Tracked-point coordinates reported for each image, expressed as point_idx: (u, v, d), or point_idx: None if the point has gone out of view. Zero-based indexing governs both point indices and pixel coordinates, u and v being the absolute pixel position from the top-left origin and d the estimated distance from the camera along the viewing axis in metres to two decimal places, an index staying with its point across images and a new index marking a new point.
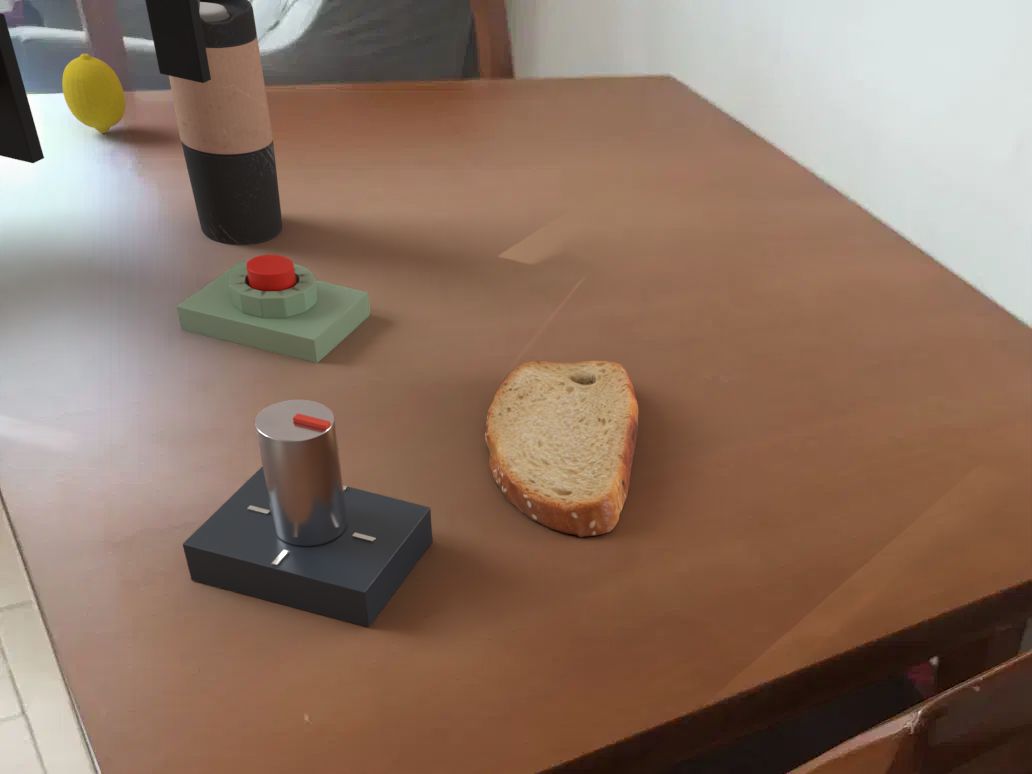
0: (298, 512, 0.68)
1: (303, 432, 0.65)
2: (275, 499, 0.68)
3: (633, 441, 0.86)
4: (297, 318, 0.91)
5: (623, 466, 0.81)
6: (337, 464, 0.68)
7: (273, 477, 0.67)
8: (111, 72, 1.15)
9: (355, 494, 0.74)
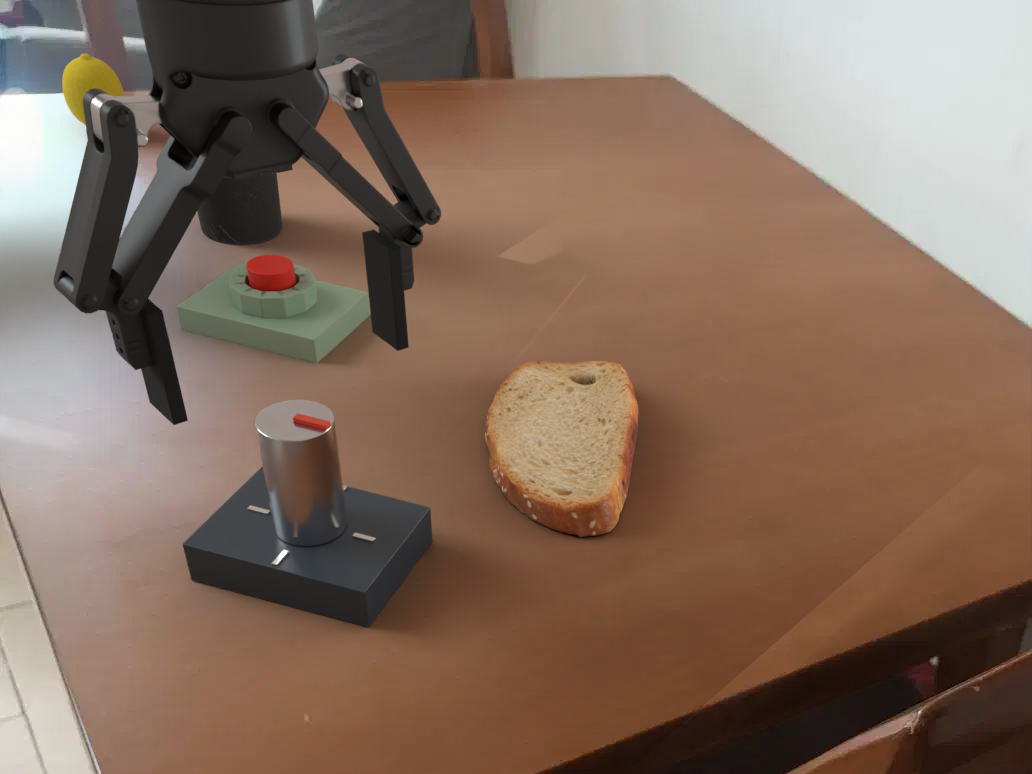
0: (298, 512, 0.68)
1: (303, 432, 0.65)
2: (275, 499, 0.68)
3: (633, 441, 0.86)
4: (297, 318, 0.91)
5: (623, 466, 0.81)
6: (337, 464, 0.68)
7: (273, 477, 0.67)
8: (111, 72, 1.15)
9: (355, 494, 0.74)
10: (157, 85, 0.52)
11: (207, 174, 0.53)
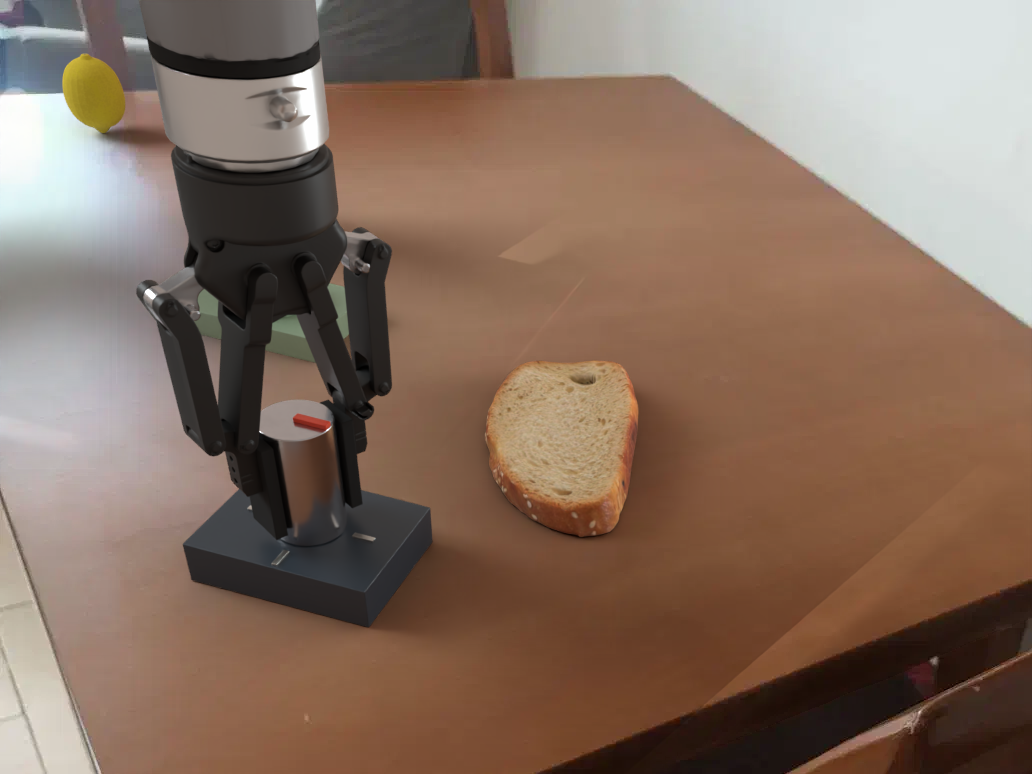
0: (298, 512, 0.68)
1: (303, 432, 0.65)
2: None
3: (633, 441, 0.86)
4: (297, 318, 0.91)
5: (623, 466, 0.81)
6: (337, 464, 0.68)
7: None
8: (111, 72, 1.15)
9: None
10: (193, 248, 0.57)
11: (258, 329, 0.59)
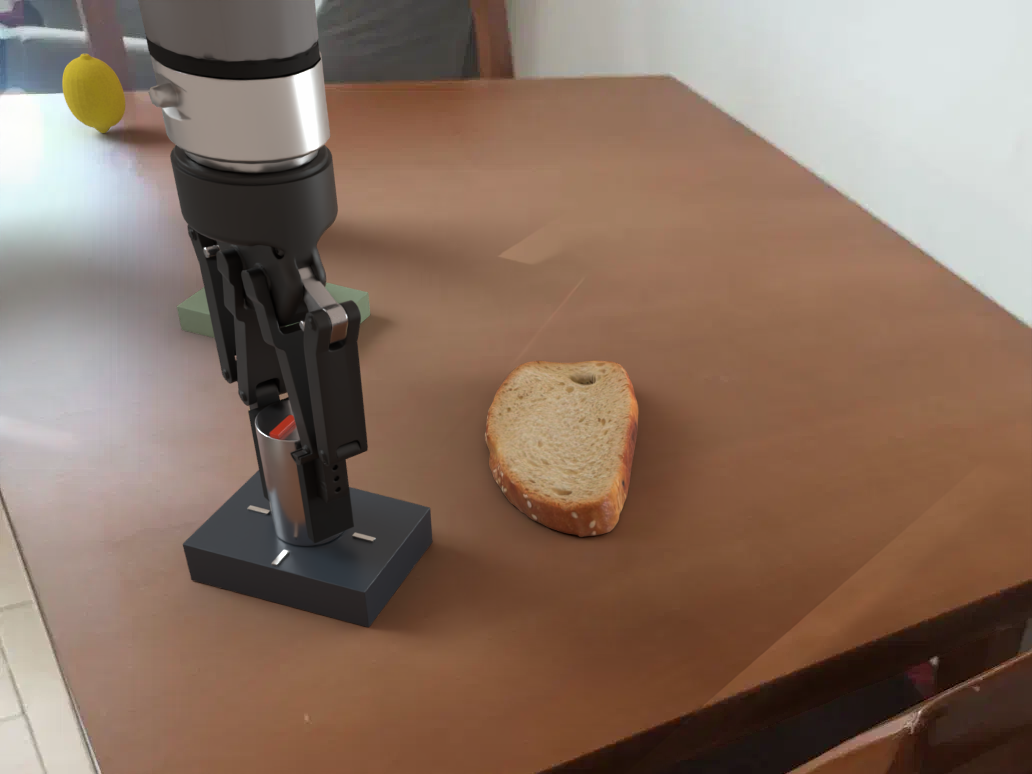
0: None
1: (269, 425, 0.66)
2: None
3: (633, 441, 0.86)
4: None
5: (623, 466, 0.81)
6: (287, 480, 0.66)
7: None
8: (111, 72, 1.15)
9: (355, 494, 0.74)
10: None
11: (228, 299, 0.61)
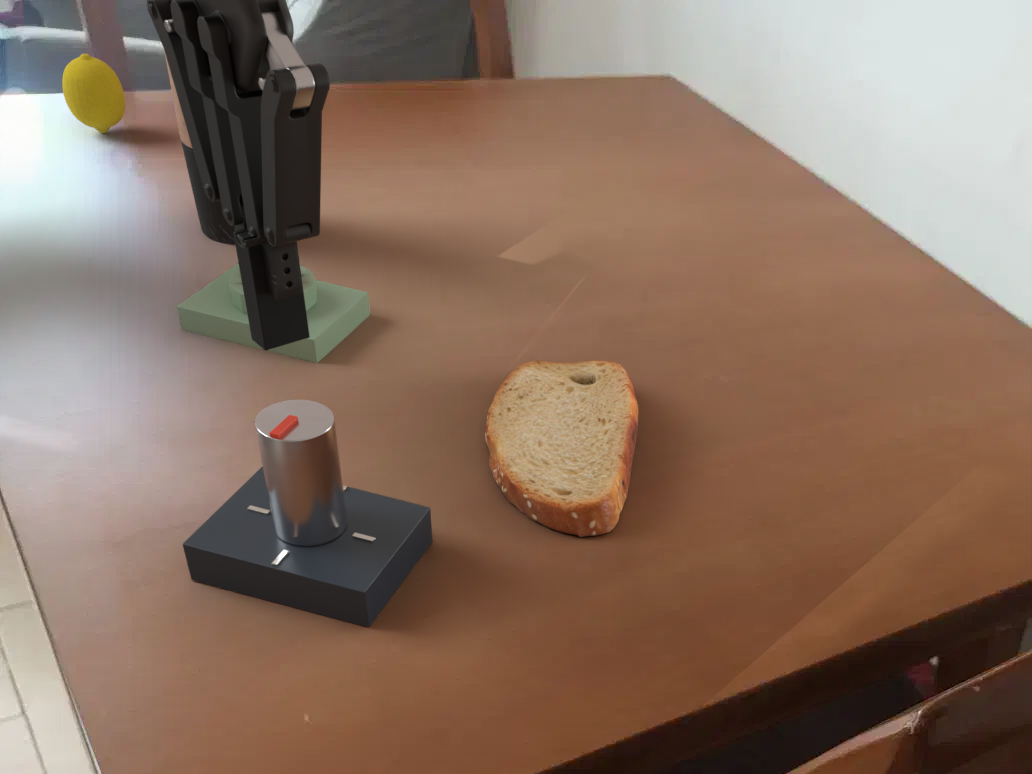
0: None
1: (269, 424, 0.66)
2: None
3: (633, 441, 0.86)
4: None
5: (623, 466, 0.81)
6: (287, 480, 0.66)
7: None
8: (111, 72, 1.15)
9: (355, 494, 0.74)
10: None
11: (191, 71, 0.54)
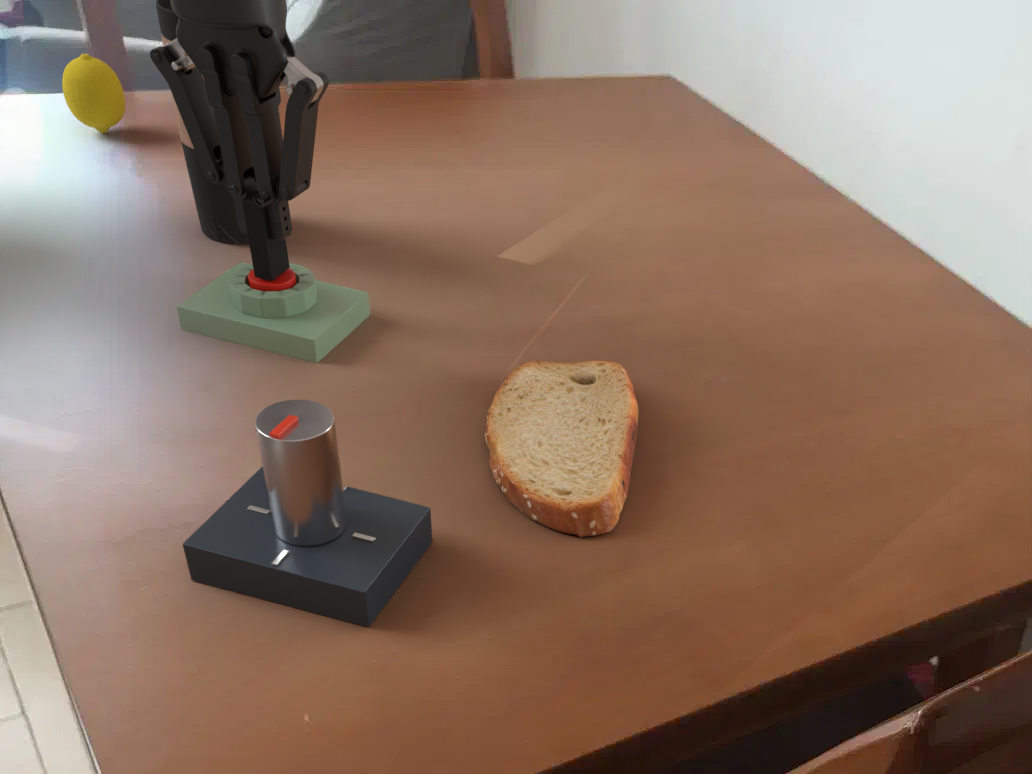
0: None
1: (269, 424, 0.66)
2: None
3: (633, 441, 0.86)
4: (297, 318, 0.91)
5: (623, 466, 0.81)
6: (287, 480, 0.66)
7: None
8: (111, 72, 1.15)
9: (355, 494, 0.74)
10: None
11: (212, 93, 0.81)
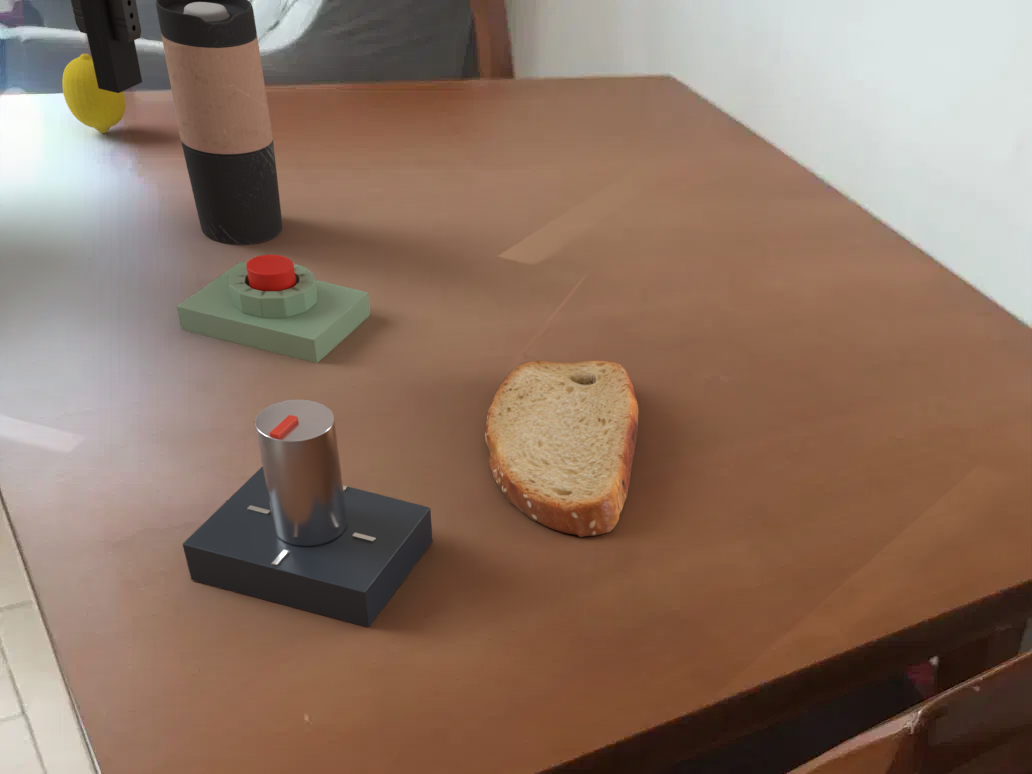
0: None
1: (269, 424, 0.66)
2: None
3: (633, 441, 0.86)
4: (297, 318, 0.91)
5: (623, 466, 0.81)
6: (287, 480, 0.66)
7: None
8: None
9: (355, 494, 0.74)
10: None
11: None
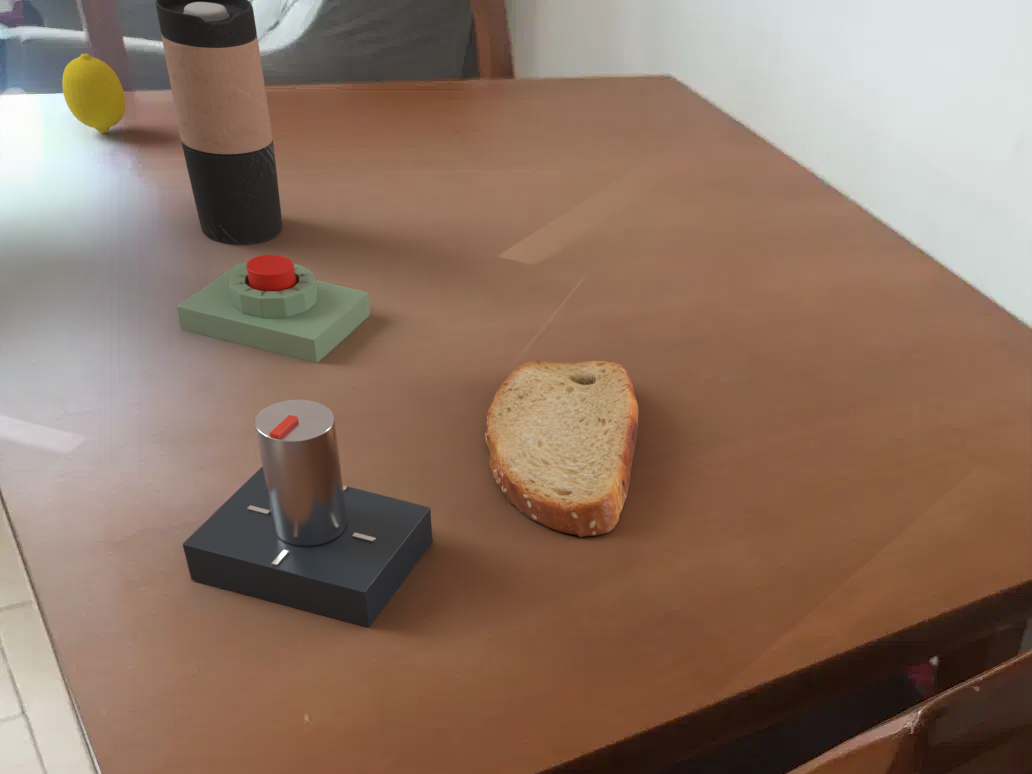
0: None
1: (269, 424, 0.66)
2: None
3: (633, 441, 0.86)
4: (297, 318, 0.91)
5: (623, 466, 0.81)
6: (287, 480, 0.66)
7: None
8: (111, 72, 1.15)
9: (355, 494, 0.74)
10: None
11: None
